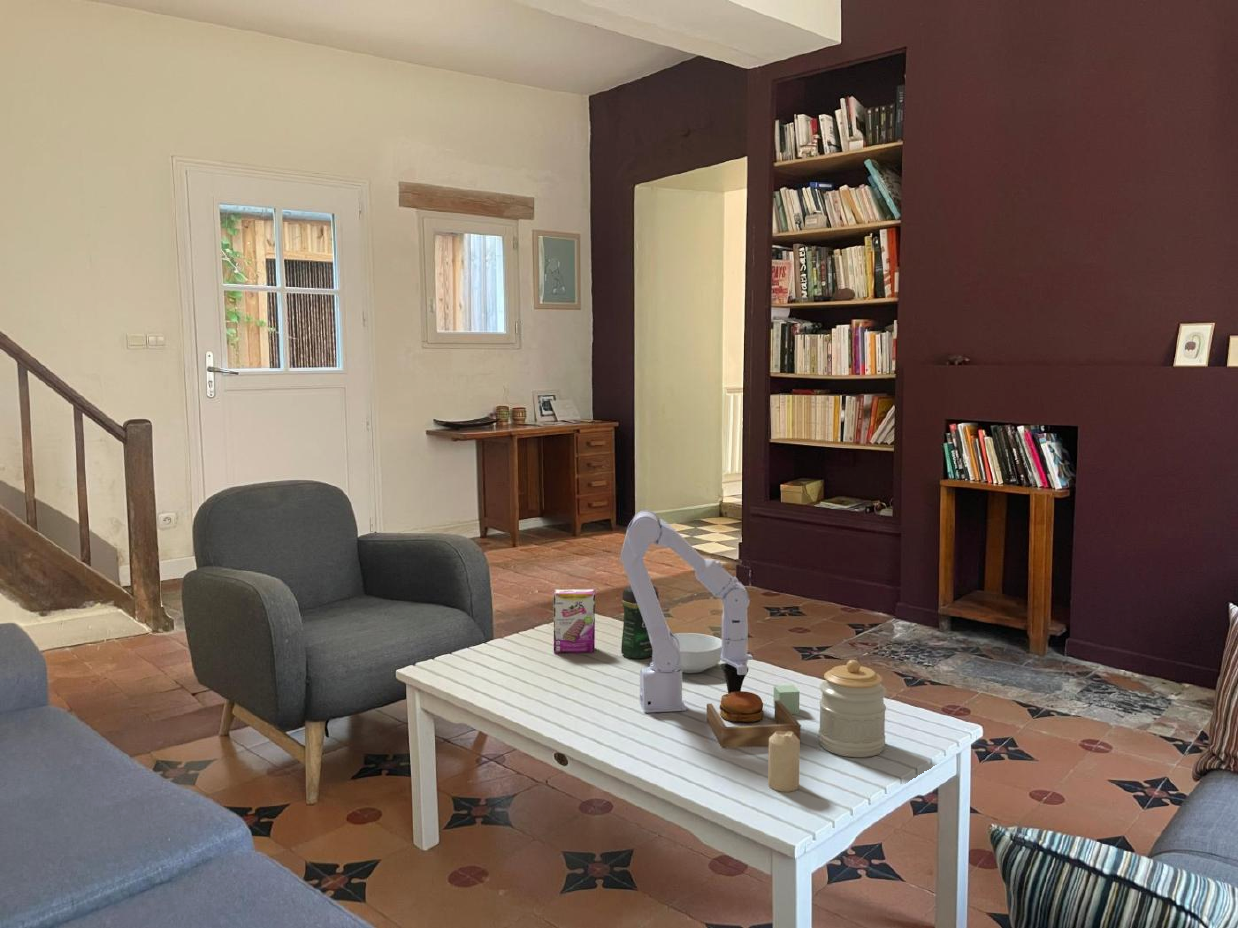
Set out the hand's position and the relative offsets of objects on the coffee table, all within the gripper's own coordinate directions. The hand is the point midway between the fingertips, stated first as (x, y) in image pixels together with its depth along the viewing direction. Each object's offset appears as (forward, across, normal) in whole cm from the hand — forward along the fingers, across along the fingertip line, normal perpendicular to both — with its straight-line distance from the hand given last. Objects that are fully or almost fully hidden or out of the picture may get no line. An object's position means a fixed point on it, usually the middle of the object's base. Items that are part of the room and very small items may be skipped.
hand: (733, 696), depth 211 cm
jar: (+3, -25, -18) cm, 31 cm away
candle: (+3, -41, +1) cm, 41 cm away
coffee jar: (+3, +42, +15) cm, 44 cm away
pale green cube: (+2, -4, -11) cm, 12 cm away
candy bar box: (+3, +48, +32) cm, 57 cm away
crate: (+2, -15, 0) cm, 15 cm away
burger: (+3, -6, 0) cm, 6 cm away
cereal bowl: (+3, +28, +4) cm, 29 cm away
